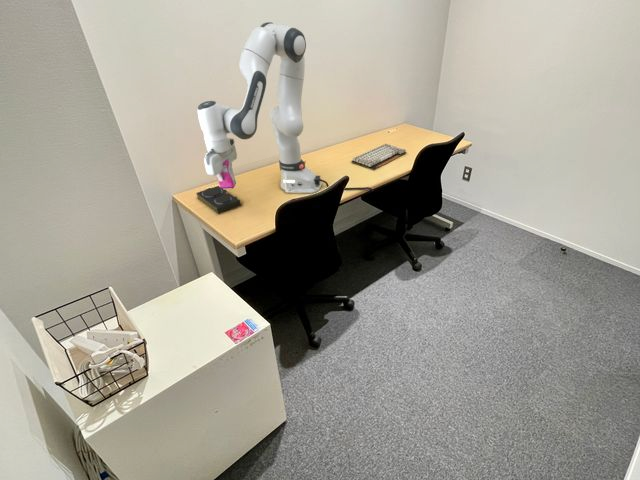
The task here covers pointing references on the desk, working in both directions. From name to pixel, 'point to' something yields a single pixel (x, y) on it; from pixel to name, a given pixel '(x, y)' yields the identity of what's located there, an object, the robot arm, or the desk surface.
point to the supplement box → (227, 176)
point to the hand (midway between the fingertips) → (225, 176)
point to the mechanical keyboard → (378, 156)
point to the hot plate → (218, 199)
